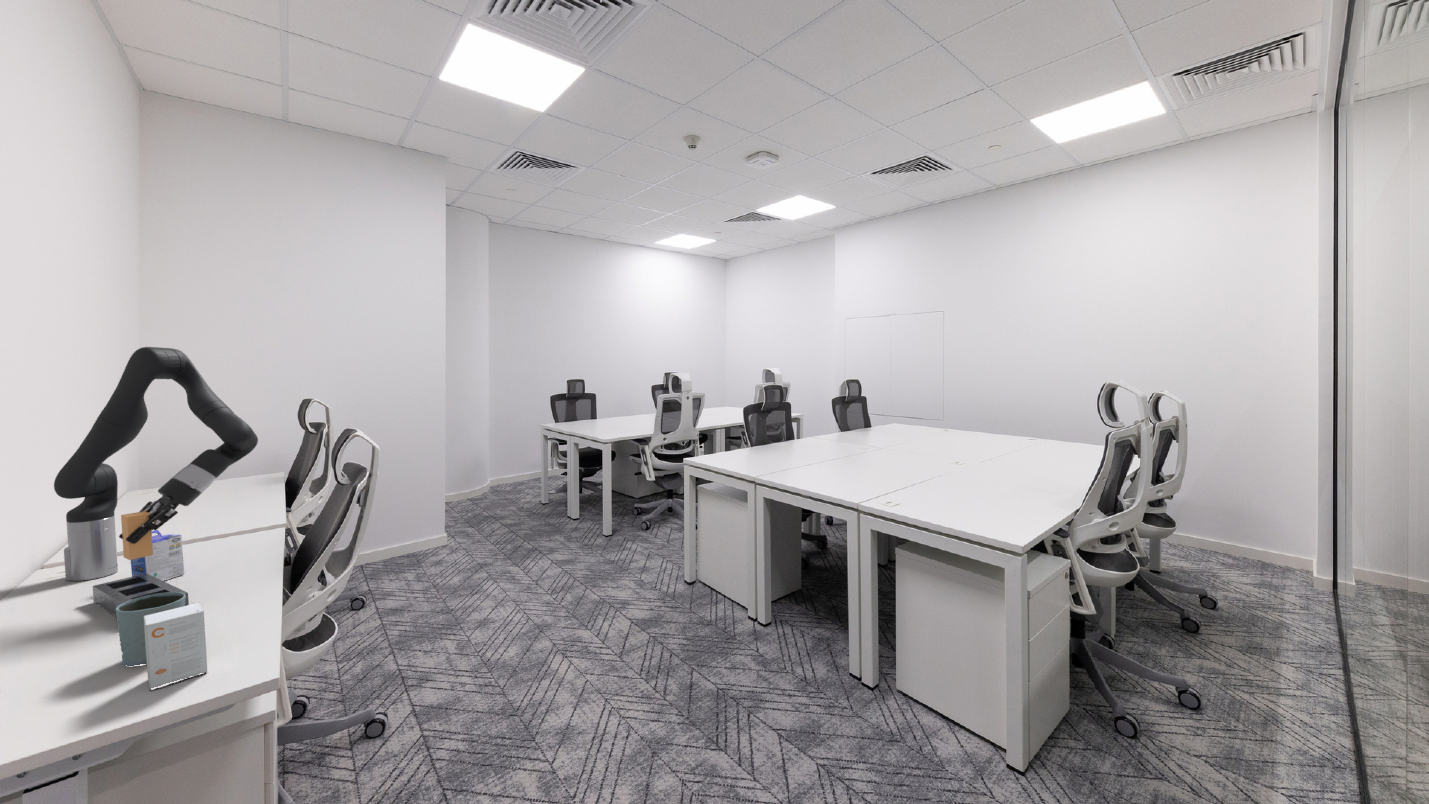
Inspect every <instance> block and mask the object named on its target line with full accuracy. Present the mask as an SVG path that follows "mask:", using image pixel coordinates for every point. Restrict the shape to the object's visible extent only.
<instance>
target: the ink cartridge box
mask: <svg viewBox="0 0 1429 804" xmlns="http://www.w3.org/2000/svg"><path fill="white" fill-rule="evenodd" d="M152 534H155V535H152V546H153V555H151V556H146V557H141V558H137V559H132V560H130V567H131V568H130V569H131V577H133V576H137V575H141V574H146V573H147V574H149V575H151V576H154V577H156V578H158V579H160V580H162V581H164V580H166V581H169V580H171V578H172V579H174V577H175V578H177V577H180V576H183V575H185V565H184V553H183V552H184V551H183V540H182V538H183V537H182V534H164V535H162V533H161V532H160V531H159V529H157V530H152ZM156 534H157V535H156ZM164 582H165V581H164Z"/></svg>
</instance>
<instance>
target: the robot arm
mask: <svg viewBox="0 0 1429 804" xmlns="http://www.w3.org/2000/svg"><path fill="white" fill-rule="evenodd" d="M155 380H173V381H174V382H176V383H177V384H178V385H180V387H182V388H183V389H184V391H185V394H186V399H187V400H186V401H187V406H188V407H189V409H190V411H191V412H192V414H193V415H194V416H195V417H196V418H197V419H198V420H199V421H200V422H201V423H203V424H204V425H205V426H206V427H207V428H209V429H211V430H212V431H213V432H214V434H216V435H217V437H219V439H220V440H221V441H222V442H223V443H222V444H221V445H220V446H219V445H218V446H217V447H216V448H215V449H212V448H210V449H206V450H204V451H202V452H201V453H200V454H199V455H198V456H196V457H195V458H194V459H193V460H192V461H191V462H189V463H188V465H186V466H185V467H183V468H181V469H180V470H179V471H178V472H177V473H175V474H174V475H173V476H172V477H171V478H170V479H169V480H168V481H166V482H165V483H164V484H163V485H162V486H161V487H160V488H158V490H157V493H158V494H160V495H162V496H161V497H160V498H158V499H156V500H154V501H147V503H146V504H145V505H144V506H143V507H142V508H141V509H140V510H139V511H138V512H143V511H144V512H148V513H150V514H149V515H148V516H147V517H146V518H147V519H146V520H145V521H144V522H143V523H142V524H141V525H140V527H141V528H140V527H138V528H137V529H136V530H135V531H134V532H132V533H131V534H130V535H129V536H128V537H127V538H126V541H128V542H130V543H133V544H135V543H137V542H138V541H139V540H140V539H141V538H142V537H143V536H144V535H145V534H147V533H148V532H149V531H155V530H159V529H160V528H161V527H162V526H163V525H165V524H166V523H167V522H169V521H170V520H171V519H173V517H175V516H176V515H177V514H178V513H179V512H178V511H177V510H176V509H177V507H179V506H180V505H181V506H184V507H189V506H190V505H191V504H192V503H193V502H194V501H195V500H196V499H197V498H199V496H201V495H202V494H203V493H204V491H206V490H207V489H208V488H209V487H210V486H211V485H212V484H213V483H214V481H215V480H216V479H218V477H220V475H221V474H222V473H224V472H225V471H226V470H227V469H228V468H229V467H230V466H232V465H234V464H235V463H237V462H238V461H240V460H241V459H243V458H245V457H246V456H247V455H249V454H250V453H251V452H253V450H254V449H255V448H256V446H257V445H258V443H259V438H258V435H257V434H256V433H255V431H254V430H253V429H252V427H251V426H250V425H249V424H248V423H247V422H246V421H245V420H244V419H242V418H241V417H239V415H236V414H235V412H234V411H233V410H232V409H231V408H230V407H229V406H228V405H227V404H226V403H225V402H224V401H222V399H221V398H220V397H219V396H218V395H217V394H216V393H215V392H214V391H213V390H212V389H211V387H210V386H209V385H208V383H207V381H206V380H205V379H204V377H203V376H202V375H201V373H200V372H199V370H198V369H197V368H196V366H195V365H194V363H193V362H192V360H191V359H190V358H189V357H188V356H187V354H186V353H184V351H182V350H180V349H178V348H177V349H176V348H173V347H172V348H171V347H157V346H155V347H154V346H144V347H140V348H138V349H136V350H135V351H134V352H133V353H132V354H131V355H130V357H129V359H128V361H127V363H126V366H125V368H124V370H123V372H122V374H121V377H120V379H119V381H118V383H117V386H116V387H115V390H114V391H113V393H112V394H111V396H110V397H109V400H108V402H107V403H106V405H105V406H104V407H103V409H102V410H101V412H100V414H99V415H98V416H97V418H96V420H95V421H94V423H93V425H92V426H91V429H90V431H89V432H88V433H87V435H86V436H85V437H84V439H83V440H82V442H81V443H80V445H79V446H78V448H77V449H76V451H75V452H74V453H73V455H71V457H70V458H69V459H68V460H67V462H65V464H64V465H63V466H62V468H61V469H60V470H59V471H58V473H57V474H56V476H55V479H54V482H53V489H54V492H55V493H56V495H57V496H59V497H60V498H62V499H66V500H67V499H69V500H72V499H74V500H75V499H81V498H83V501H82V502H81V503H80V504H78V505H77V506H76V507H74V508H72V509H70V510H68V512H66V516H65V519H66V534H67V546H66V547H65V548H64V549H63V559H64V560H63V561H64V573H65V581H66V582H67V581H73V582H74V581H75V582H78V581H81V582H83V581H89V580H95V579H99V578H103V577H108V576H110V575H113V574H115V573H118V572H119V571H118V570H119V569H118V568H119V567H118V565H119V563H118V549H117V533H116V531H117V530H116V517H115V511H116V508H117V506H118V491H119V490H118V484H119V483H118V481H119V480H118V476H117V473H116V471H115V469H114V468H113V466H111V465H110V464H107V463H104V462H105V461H106V460H108V459H109V458H110V457H111V456H113V455H114V454H116V453H117V452H119V451H120V450H121V449H123V448H125V447H126V446H128V445H129V444H130V443H132V442H133V441H134V440H135V439H136V438H137V436H138V435H139V434H140V432H141V431H142V429H143V428H144V425H145V424H146V422H147V421H148V417H149V413H148V412H149V411H148V408H147V404H146V401H145V394H146V392H147V390H148V388H149V387H150V385H151V384H152V383H153V381H155ZM118 538H119V539H121V540H123V537H122V532H121V533H120V534H119V535H118Z"/></svg>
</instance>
